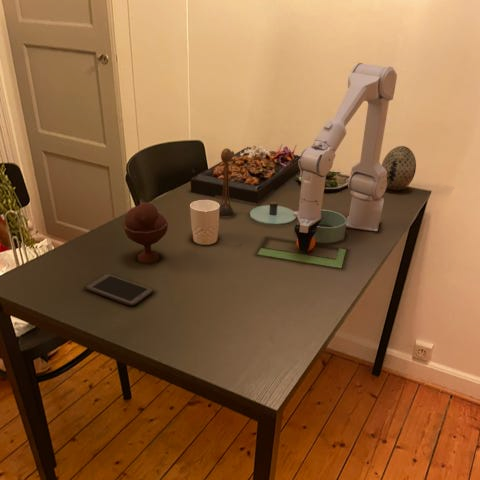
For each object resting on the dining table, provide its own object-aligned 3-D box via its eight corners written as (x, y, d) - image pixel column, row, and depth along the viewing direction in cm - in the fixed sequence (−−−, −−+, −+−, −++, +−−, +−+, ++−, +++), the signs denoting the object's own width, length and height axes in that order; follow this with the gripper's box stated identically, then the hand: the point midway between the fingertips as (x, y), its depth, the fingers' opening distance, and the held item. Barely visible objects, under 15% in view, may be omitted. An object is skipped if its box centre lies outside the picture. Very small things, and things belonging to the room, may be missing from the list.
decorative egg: (372, 190, 167) (380, 147, 158) (382, 181, 175) (391, 140, 166) (405, 197, 162) (415, 153, 153) (414, 188, 170) (424, 145, 162)
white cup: (215, 247, 127) (215, 212, 121) (187, 244, 128) (186, 209, 122) (222, 235, 133) (222, 201, 127) (195, 232, 134) (194, 198, 128)
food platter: (245, 158, 194) (246, 132, 188) (302, 167, 186) (305, 140, 180) (190, 191, 161) (190, 161, 155) (256, 205, 152) (258, 173, 146)
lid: (299, 212, 149) (301, 197, 146) (290, 229, 137) (292, 214, 135) (256, 206, 152) (257, 191, 149) (244, 222, 141) (244, 207, 138)
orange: (315, 247, 127) (317, 230, 125) (312, 256, 124) (314, 238, 121) (297, 245, 129) (299, 228, 126) (293, 253, 125) (295, 235, 122)
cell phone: (107, 275, 112) (107, 273, 112) (154, 292, 107) (153, 289, 106) (85, 289, 107) (84, 286, 107) (132, 307, 102) (132, 304, 101)
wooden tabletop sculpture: (225, 209, 148) (226, 144, 137) (237, 213, 146) (239, 147, 135) (214, 215, 144) (215, 148, 133) (227, 219, 142) (228, 151, 131)
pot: (346, 228, 139) (349, 212, 137) (341, 247, 129) (344, 230, 126) (302, 222, 142) (304, 206, 139) (294, 240, 132) (295, 223, 129)
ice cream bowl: (176, 252, 124) (173, 197, 115) (157, 271, 115) (152, 213, 106) (140, 245, 126) (135, 190, 118) (118, 263, 118) (111, 206, 109)
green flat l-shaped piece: (346, 250, 128) (346, 249, 127) (341, 268, 119) (341, 267, 119) (267, 238, 132) (267, 237, 132) (257, 255, 124) (257, 254, 123)
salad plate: (321, 171, 183) (323, 159, 180) (360, 183, 173) (362, 171, 170) (289, 182, 172) (290, 169, 169) (328, 195, 161) (330, 182, 159)
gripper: (300, 186, 124) (295, 234, 132) (289, 205, 113) (284, 256, 121) (327, 190, 123) (320, 237, 131) (319, 209, 111) (312, 260, 119)
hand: (305, 247), depth 125 cm, fingers closed on orange, 5 cm apart
